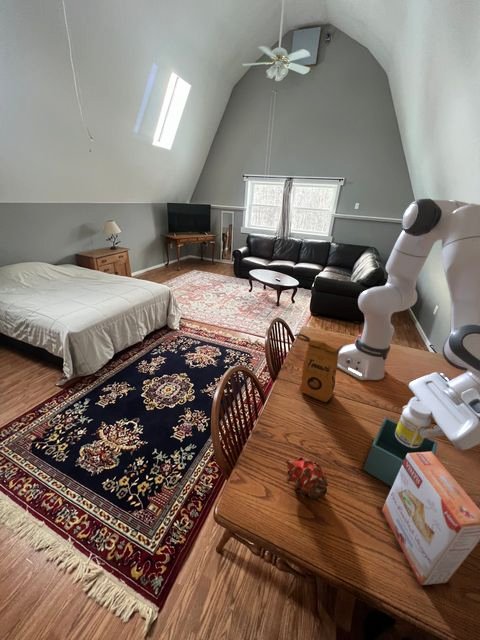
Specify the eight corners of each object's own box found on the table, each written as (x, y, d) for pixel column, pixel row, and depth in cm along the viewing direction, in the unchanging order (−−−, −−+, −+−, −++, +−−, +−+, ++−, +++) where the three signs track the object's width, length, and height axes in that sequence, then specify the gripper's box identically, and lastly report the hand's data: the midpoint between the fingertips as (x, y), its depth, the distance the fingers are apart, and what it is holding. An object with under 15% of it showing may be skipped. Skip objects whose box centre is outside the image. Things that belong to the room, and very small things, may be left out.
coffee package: (326, 407, 96) (338, 355, 87) (295, 392, 103) (303, 343, 93) (335, 393, 103) (348, 344, 94) (306, 380, 110) (314, 333, 101)
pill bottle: (417, 433, 73) (431, 402, 68) (423, 452, 67) (439, 419, 63) (392, 426, 74) (404, 395, 70) (396, 444, 69) (409, 412, 64)
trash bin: (363, 469, 75) (372, 444, 70) (376, 440, 84) (385, 417, 80) (417, 502, 67) (430, 476, 63) (425, 466, 76) (437, 442, 72)
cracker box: (379, 510, 65) (405, 451, 56) (402, 509, 65) (432, 449, 57) (419, 587, 52) (461, 526, 43) (447, 584, 53) (495, 523, 44)
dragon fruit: (323, 512, 65) (285, 481, 74) (339, 479, 68) (301, 453, 77) (312, 506, 60) (273, 473, 69) (330, 471, 63) (290, 443, 71)
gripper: (434, 362, 72) (387, 388, 77) (494, 420, 54) (428, 449, 58) (445, 377, 74) (399, 401, 79) (507, 437, 55) (441, 465, 60)
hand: (411, 422), depth 68 cm, fingers closed on pill bottle, 6 cm apart
